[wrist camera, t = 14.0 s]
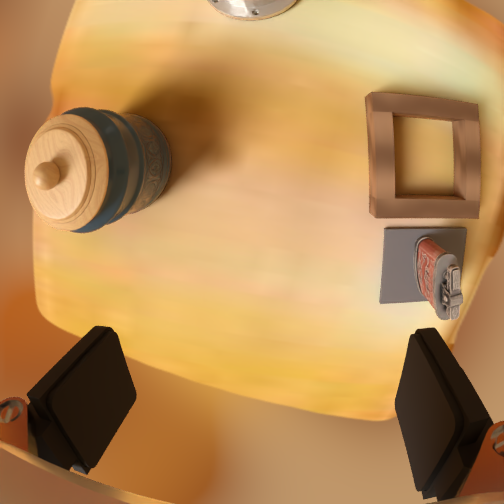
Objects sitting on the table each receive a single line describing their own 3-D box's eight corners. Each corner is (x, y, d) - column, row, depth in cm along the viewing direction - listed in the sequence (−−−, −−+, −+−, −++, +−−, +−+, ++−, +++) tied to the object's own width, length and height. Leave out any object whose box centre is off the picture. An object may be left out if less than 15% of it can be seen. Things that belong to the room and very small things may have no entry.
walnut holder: (364, 97, 32) (371, 92, 29) (464, 106, 30) (477, 104, 27) (369, 212, 37) (376, 218, 33) (465, 212, 35) (478, 218, 31)
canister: (179, 207, 40) (103, 248, 23) (97, 214, 42) (8, 252, 25) (170, 106, 36) (87, 84, 19) (88, 125, 38) (-7, 125, 21)
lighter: (437, 290, 38) (468, 326, 28) (415, 295, 38) (442, 334, 29) (434, 233, 36) (470, 258, 26) (410, 238, 36) (442, 265, 27)
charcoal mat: (384, 228, 37) (385, 229, 36) (464, 227, 35) (466, 228, 35) (379, 301, 40) (380, 303, 39) (455, 296, 38) (457, 298, 38)
